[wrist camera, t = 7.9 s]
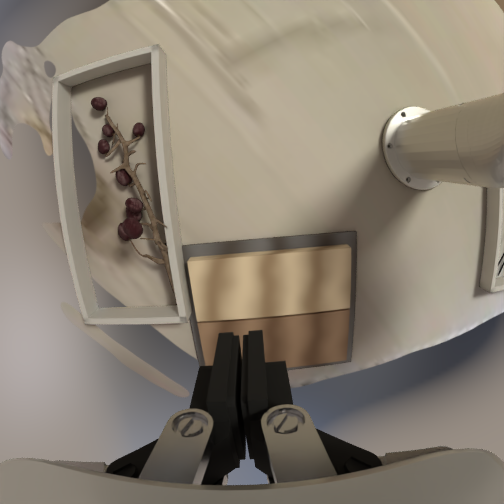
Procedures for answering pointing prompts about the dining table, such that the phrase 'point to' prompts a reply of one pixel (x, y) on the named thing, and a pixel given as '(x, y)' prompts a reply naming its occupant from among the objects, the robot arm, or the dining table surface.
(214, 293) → the oak plank
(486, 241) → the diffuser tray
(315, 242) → the walnut floor board
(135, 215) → the decorative branch
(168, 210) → the branch tray
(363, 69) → the dining table surface
